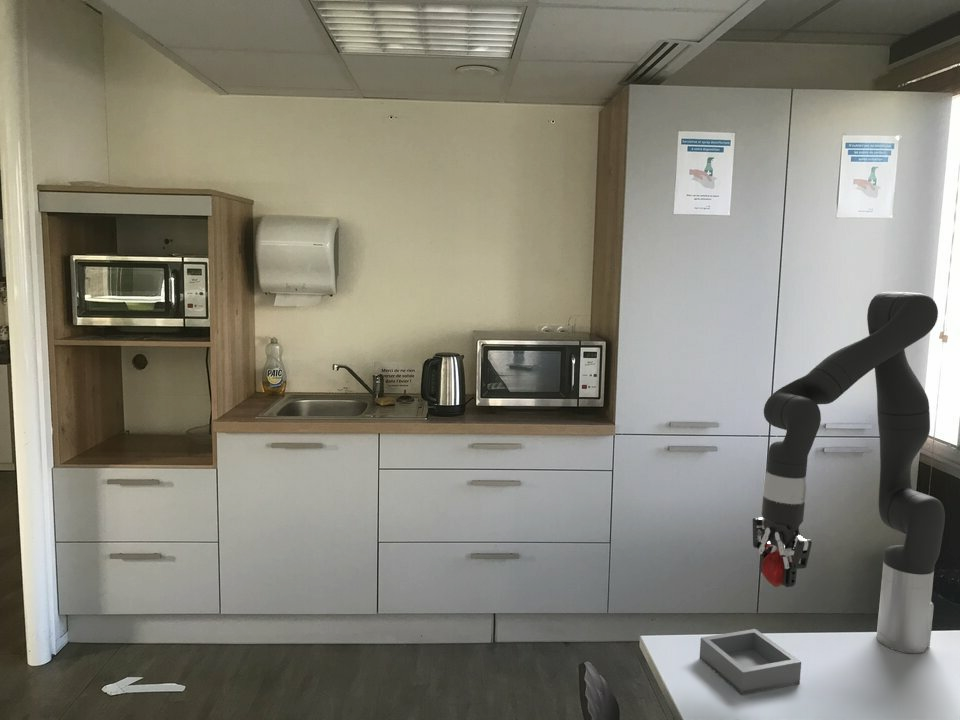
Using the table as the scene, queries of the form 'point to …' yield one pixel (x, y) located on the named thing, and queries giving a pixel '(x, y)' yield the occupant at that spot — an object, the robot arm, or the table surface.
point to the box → (750, 661)
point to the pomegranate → (773, 568)
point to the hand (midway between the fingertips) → (776, 578)
